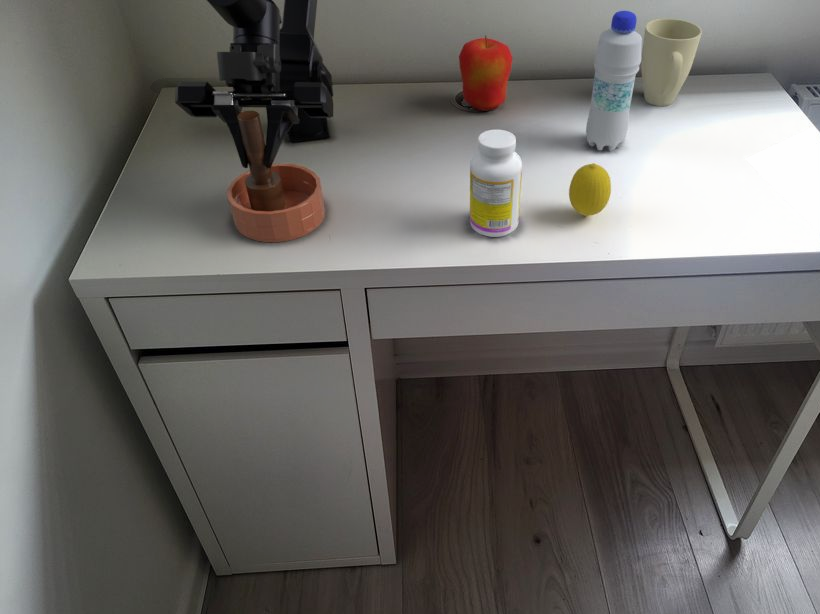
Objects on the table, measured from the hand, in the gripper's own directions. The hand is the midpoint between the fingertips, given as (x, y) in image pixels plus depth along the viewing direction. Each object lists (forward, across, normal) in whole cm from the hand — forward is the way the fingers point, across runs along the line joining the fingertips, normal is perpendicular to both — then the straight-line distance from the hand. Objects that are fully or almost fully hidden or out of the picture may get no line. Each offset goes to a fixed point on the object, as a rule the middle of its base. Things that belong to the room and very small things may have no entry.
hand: (256, 167), depth 90 cm
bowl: (+5, +1, +7) cm, 9 cm away
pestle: (+4, 0, +6) cm, 7 cm away
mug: (-19, +61, +32) cm, 71 cm away
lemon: (+5, +43, +8) cm, 44 cm away
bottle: (-9, +49, +22) cm, 54 cm away
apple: (-18, +30, +31) cm, 47 cm away
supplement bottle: (+6, +31, +6) cm, 32 cm away
